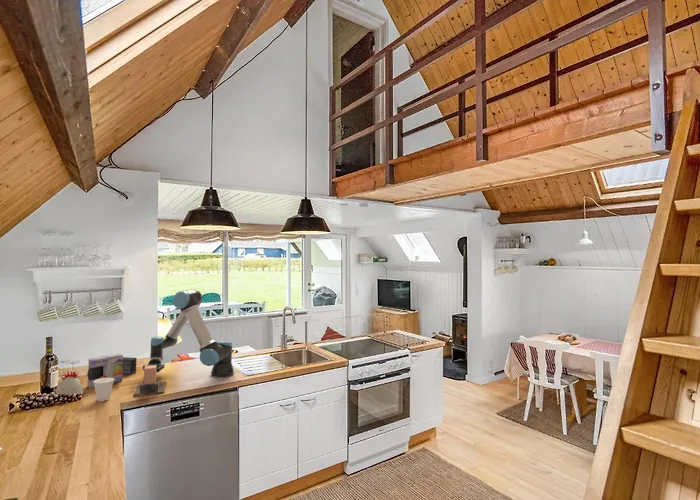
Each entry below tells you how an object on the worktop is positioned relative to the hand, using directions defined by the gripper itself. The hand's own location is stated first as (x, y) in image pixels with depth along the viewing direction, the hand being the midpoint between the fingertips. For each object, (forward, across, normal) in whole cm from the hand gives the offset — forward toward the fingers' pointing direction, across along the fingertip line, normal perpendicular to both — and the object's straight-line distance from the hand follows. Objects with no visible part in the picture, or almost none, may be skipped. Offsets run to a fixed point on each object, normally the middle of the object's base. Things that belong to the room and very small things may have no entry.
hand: (150, 374), depth 236 cm
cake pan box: (-21, +28, -10) cm, 36 cm away
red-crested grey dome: (-2, +42, -10) cm, 43 cm away
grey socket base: (-2, 0, -10) cm, 10 cm away
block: (+3, 0, -9) cm, 9 cm away
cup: (+8, +23, -10) cm, 26 cm away
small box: (-42, +19, -10) cm, 47 cm away
